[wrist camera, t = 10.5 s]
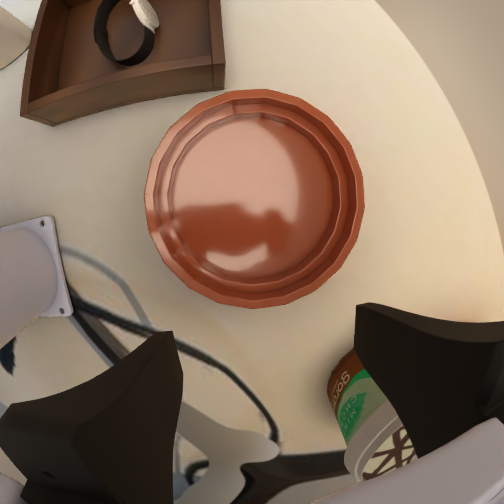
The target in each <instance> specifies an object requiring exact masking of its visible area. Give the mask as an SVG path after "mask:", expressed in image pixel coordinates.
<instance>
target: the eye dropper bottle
mask: <svg viewBox="0 0 504 504" xmlns="http://www.w3.org/2000/svg"><path fill="white" fill-rule="evenodd" d="M31 33H32V31H31V29H30V28H29V27H28V26H27V25H25V24H24V23H23V22H21V21H20V20H19V19H17V18H16V17H15V16H13V15H12V14H11V13H9V12H8V11H7V10H5V9H4V8H2V7H1V6H0V69H2V68H4V67H5V66H7V65H8V64H10V63H11V62H12V61H14V60H15V59H16V58H17V57H18V56H19V55H21V54H22V53H23V52H24V51H25V50H26V48H27V47H28V46H29V44H30V41H31Z"/></svg>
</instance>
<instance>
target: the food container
mask: <svg viewBox="0 0 504 504" xmlns="http://www.w3.org/2000/svg"><path fill="white" fill-rule="evenodd" d="M327 393H328V397H329V400H330V403H331V405H332V408H333V410H334V413H335V416H336V418H337V421H338V424H339V426H340V429H341V432H342V434H343V437H344V439H345V442H346V445H347V449H346V452H345V457H344V463H345V466H346V468H347V469H348V471H349V472H350V473H351V474H352V475H353V476H354V478H355V479H356V480H357V481H358V482H360V483H361V482H364V481H367V480H369V479H372V478H375V477H378V476H380V475H383V474H385V473H388V472H390V471H392V470H395V469H397V468H399V467H402V466H404V465H406V464H408V463H409V462H410V460H411V459H412V457H413V455H414V454H415V453H416V452H415V450H414V447H413V445H412V443H411V440H410V438H409V436H408V434H407V432H406V430H405V428H404V426H403V424H402V422H401V420H400V418H399V417H398V415H397V413H396V411H395V409H394V408H393V406H392V405H391V403H390V402H389V400H388V399H387V398H386V396H385V395H384V394H383V392H382V391H381V390H380V388H379V387H378V386H377V384H376V383H375V382H374V380H373V379H372V378H371V376H370V375H369V374H368V372H367V371H366V370H365V368H364V367H363V365H362V364H361V362H360V360H359V358H358V356H357V354H356V352H355V350H354V348H353V349H352V350H351V351H350V352H349V353H348V354H346V355H345V356H344V357H343V358H342V359H341V360H340V362H339V363H338V365H337V366H336V367H335V369H334V370H333V372H332V374H331V377H330V379H329V382H328V387H327Z"/></svg>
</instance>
